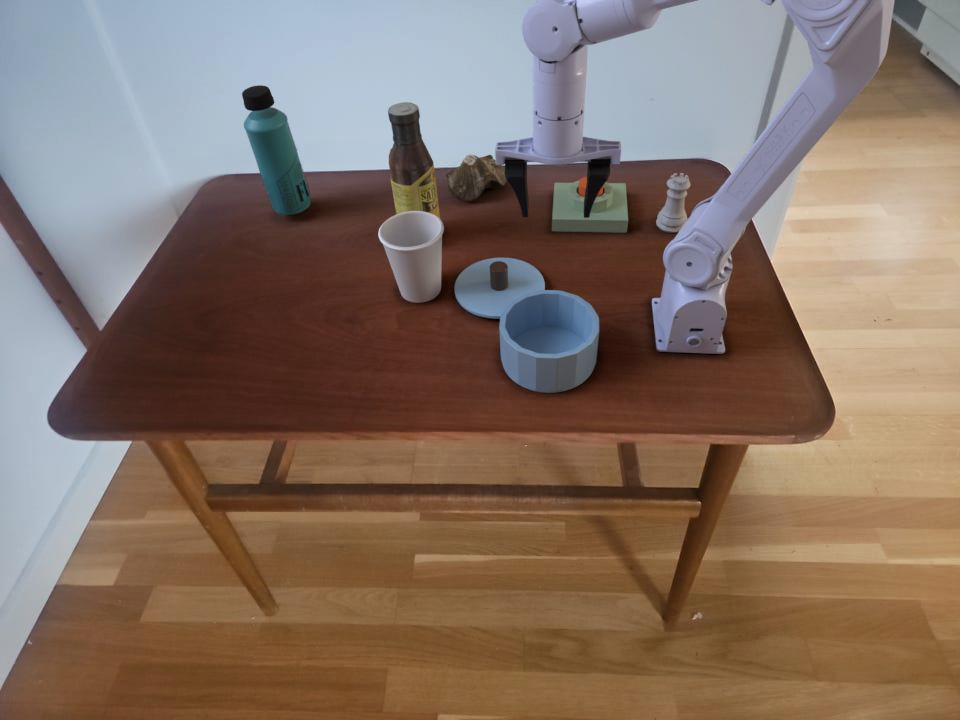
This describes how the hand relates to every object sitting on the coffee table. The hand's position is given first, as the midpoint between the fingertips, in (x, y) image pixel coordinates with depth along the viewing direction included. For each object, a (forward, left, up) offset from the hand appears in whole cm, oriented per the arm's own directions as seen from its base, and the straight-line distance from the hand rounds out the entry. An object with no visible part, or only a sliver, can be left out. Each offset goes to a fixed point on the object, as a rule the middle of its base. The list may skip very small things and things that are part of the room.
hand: (555, 213), depth 82 cm
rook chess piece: (+13, -17, -11) cm, 23 cm away
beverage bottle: (+15, +42, -11) cm, 46 cm away
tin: (-15, 0, -10) cm, 19 cm away
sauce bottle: (+9, +20, -11) cm, 24 cm away
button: (+16, -5, -7) cm, 18 cm away
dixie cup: (-3, +18, -11) cm, 21 cm away
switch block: (+16, -5, -10) cm, 19 cm away
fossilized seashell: (+22, +13, -11) cm, 27 cm away
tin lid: (-3, +7, -10) cm, 13 cm away
